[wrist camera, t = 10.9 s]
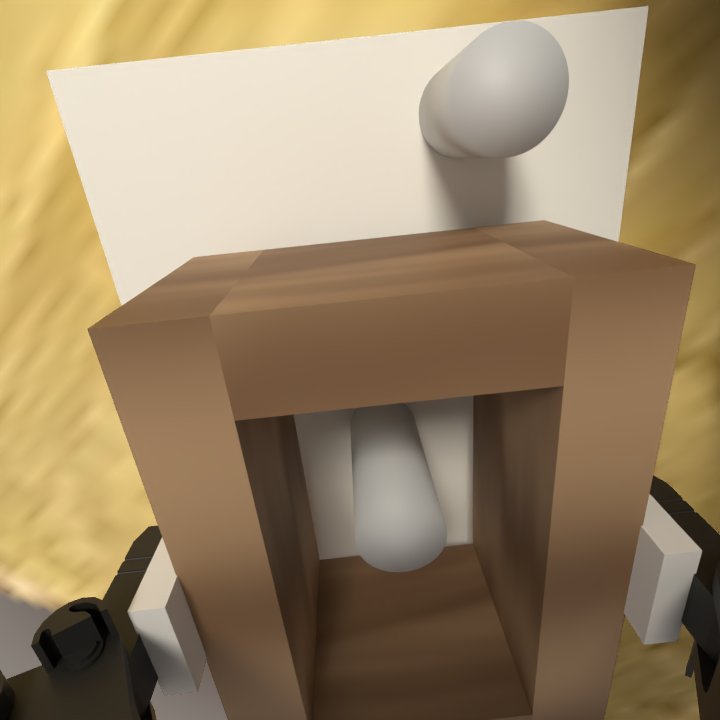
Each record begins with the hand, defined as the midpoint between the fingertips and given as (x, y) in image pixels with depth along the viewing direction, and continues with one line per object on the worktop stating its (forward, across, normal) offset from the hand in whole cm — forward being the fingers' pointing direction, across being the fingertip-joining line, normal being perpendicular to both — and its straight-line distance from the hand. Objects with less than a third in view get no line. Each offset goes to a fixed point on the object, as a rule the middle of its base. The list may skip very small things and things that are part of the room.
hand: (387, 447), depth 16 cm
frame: (0, 0, 0) cm, 0 cm away
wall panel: (+3, 0, +2) cm, 3 cm away
